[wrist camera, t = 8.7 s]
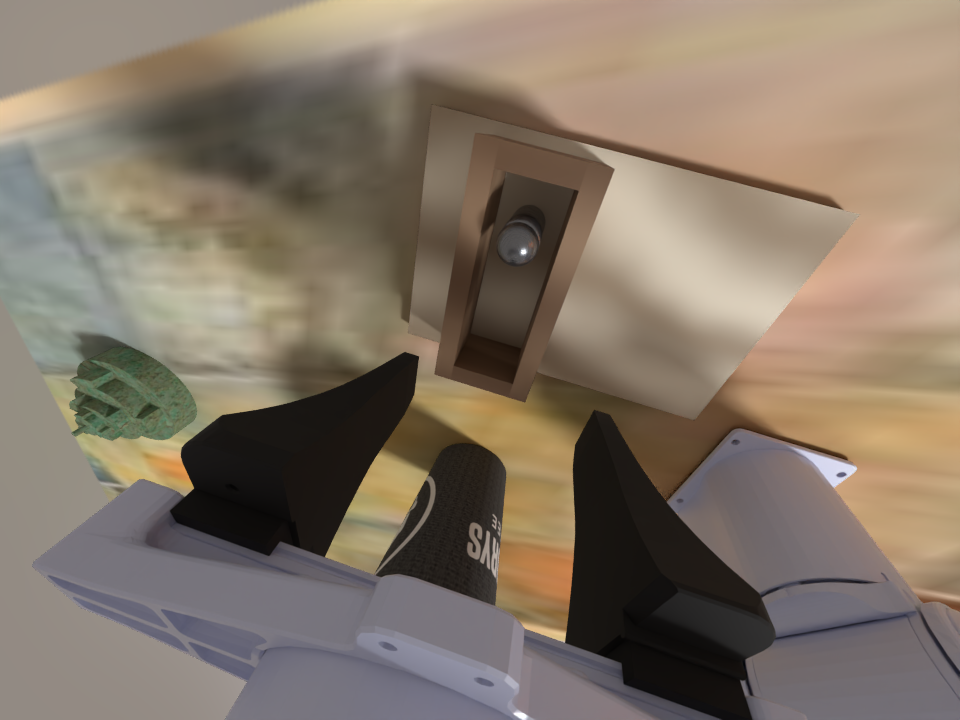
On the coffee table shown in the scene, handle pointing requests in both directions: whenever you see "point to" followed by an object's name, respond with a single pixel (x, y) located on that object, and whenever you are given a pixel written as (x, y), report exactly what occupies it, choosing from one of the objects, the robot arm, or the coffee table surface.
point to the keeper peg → (521, 236)
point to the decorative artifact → (130, 397)
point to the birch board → (626, 267)
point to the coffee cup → (454, 525)
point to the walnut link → (487, 171)
